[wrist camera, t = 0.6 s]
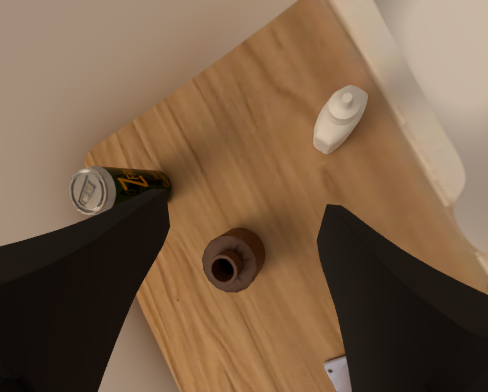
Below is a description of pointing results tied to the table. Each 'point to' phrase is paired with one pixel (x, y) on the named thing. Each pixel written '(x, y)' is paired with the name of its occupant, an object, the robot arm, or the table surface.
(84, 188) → the beer can
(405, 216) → the table surface
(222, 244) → the amber bottle
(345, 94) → the eye dropper bottle
